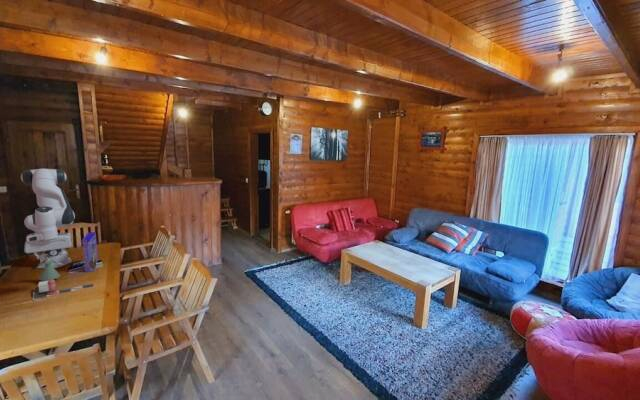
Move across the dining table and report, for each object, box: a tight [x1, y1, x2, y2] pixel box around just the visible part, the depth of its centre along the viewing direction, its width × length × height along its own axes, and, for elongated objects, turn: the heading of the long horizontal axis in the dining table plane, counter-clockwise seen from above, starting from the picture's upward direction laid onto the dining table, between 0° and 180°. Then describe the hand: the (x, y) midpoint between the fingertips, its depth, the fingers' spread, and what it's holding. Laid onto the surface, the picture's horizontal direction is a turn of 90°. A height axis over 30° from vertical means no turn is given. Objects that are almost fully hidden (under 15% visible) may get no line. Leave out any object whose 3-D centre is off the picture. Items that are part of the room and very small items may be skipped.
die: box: [37, 280, 49, 293], centre depth 175 cm, size 5×5×5 cm
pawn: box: [47, 279, 58, 296], centre depth 171 cm, size 4×4×9 cm
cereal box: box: [81, 231, 99, 273], centre depth 208 cm, size 17×5×24 cm, turn 29°
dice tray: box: [32, 282, 57, 297], centre depth 175 cm, size 10×10×2 cm
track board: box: [32, 283, 94, 301], centre depth 175 cm, size 5×28×1 cm, turn 131°
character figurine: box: [29, 255, 63, 281], centre depth 184 cm, size 16×8×18 cm, turn 123°
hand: (50, 256), depth 170 cm, fingers open, 8 cm apart
